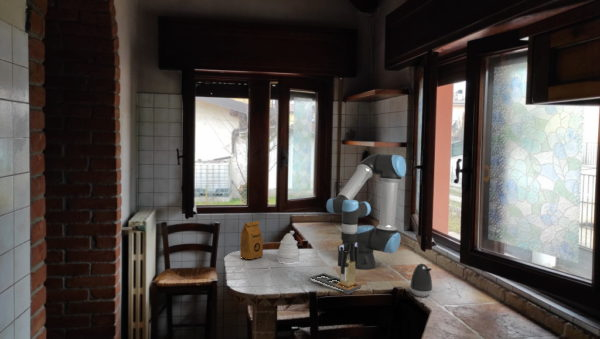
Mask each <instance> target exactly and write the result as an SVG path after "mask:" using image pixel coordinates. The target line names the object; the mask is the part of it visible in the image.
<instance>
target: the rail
mask: <svg viewBox="0 0 600 339" xmlns="http://www.w3.org/2000/svg"><path fill="white" fill-rule="evenodd" d="M321 276H325V277H328V278H329V279H323V278H321V279H320V278H317V277H321ZM311 278H312V279H315V280H317V281H320V282H322V283H325V284H327V285H330V286H333V287H336V288H338V289H341V290H343V291H344V293H343V294H346V295H348V294H353V293H355V292H356V291H355V290H357V289H360V288H361V289H362V285H361V284H358V283H357V282H355V283H354V286H353V287H349V288H346V287H343V286H341V285H340V283H335V282H333V283H331V282H329V281H332V280H337V281H339V282H340V277H337V276H333V275H331V274H328V273H326V272H323V273H320V274H316V275H313V276H310V279H311ZM354 291H355V292H354Z"/></svg>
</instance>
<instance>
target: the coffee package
mask: <svg viewBox="0 0 600 339" xmlns="http://www.w3.org/2000/svg"><path fill="white" fill-rule="evenodd" d="M259 225H260V221H259V220H256V221H251V222H245V223H244V225H243V228H241V229H242V230H241V234H240V258H241V257H242V258H241V259H243V258H245V259H244V260H247V259H251V260H255V259H254V258H257V259H259V258H258V257H261V258H263V256H264V250H263V246H264V245H263V244H264V240H263V236H262V232H261V229H260V226H259Z"/></svg>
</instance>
